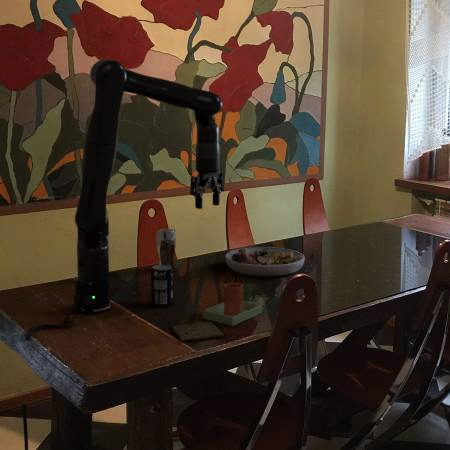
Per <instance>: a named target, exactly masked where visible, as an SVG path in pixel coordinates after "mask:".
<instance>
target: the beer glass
mask: <svg viewBox="0 0 450 450" xmlns="http://www.w3.org/2000/svg"><path fill="white" fill-rule="evenodd" d="M176 241H177V237H176V230H175V229H173V228H160V229H157V230H156V249H157V255H158V261H159V262H158V265H168V266H171V270H172V272H174V271H175V270H176V267H175V262H174V260H175V253H176V247H177V246H176V244H177V242H176Z"/></svg>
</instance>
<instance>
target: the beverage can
mask: <svg viewBox="0 0 450 450" xmlns="http://www.w3.org/2000/svg"><path fill="white" fill-rule="evenodd" d="M173 288H174V287H173V271H172V270H171V266H168V265H159V264H157V265H153V266H152V270H151V272H150V289H151V290H150V293H151V296H150V297H151V300H150V301H151V304H152V305H153V306H155V307H168V306H170V305H171V304H172V303H173V301H174V300H173V296H174V295H173V290H174V289H173Z"/></svg>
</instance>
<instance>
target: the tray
mask: <svg viewBox="0 0 450 450" xmlns="http://www.w3.org/2000/svg"><path fill="white" fill-rule="evenodd" d="M261 314H263V304H261V303H256V302H251V301H247V300H243V313H240V314H238V315H236V316H233V317H231V316H226V315H224V301H223V302H220V303H218V304H215V305H213V306H211V307H209V308H206V309H203V310H202V319H203V320H206V321H210V322H215V323H220V324H224V325H228V326H230V327H231V326H232V327H233V326H236V325H238V324H241V323H242V322H243V323H244V322H245V321H247V320H250V319H253V317H256V316H258V315H261Z"/></svg>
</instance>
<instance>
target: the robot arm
mask: <svg viewBox="0 0 450 450" xmlns="http://www.w3.org/2000/svg"><path fill="white" fill-rule="evenodd" d="M89 77H90V80H91V82H92V84H93V85H94V86H95V89H94V90H95V91H94V93H95V95H94V105H93V110H92V113H91V116H90V119H89V122H88V124H87V128H86V130H85V136H84V142H83V150H82V161H81V162H82V165H81V188H80V189H81V190H80V194H79V199H78V203H77V206H76V211H75V213H74V223H75V226H76V229H77V230H76V231H77V239H76V241H77V242H76V266H77V279H76V280H75V281H74V285H75V287H74V288H75V294H73V304H72V305H71V306H70V307H69V309H68V310H67V313H66V316H65V318H64V322H65V323H63V324H54V323H53V324H52V323H51V324H49V323H46V324H45V323H44V324H39V325H35V326H32V327H30V328H29V330H28V332H27V335H26V338H25V342H28V341H30V339H31V337H32V335H33V332H34V331H35V330H39V329H49V328H50V329H65V328H69V327H70V326H71V325H72V323H71V321H69V320H70V317H71V314H72V312H73V311H74V309H75V310H76V311H77V312H81V313H85V314H88V315H89V314H90V315H91V314H97V313H104V312H106V311H109V310H110V309H111V296H110V293H111V292H110V255H109V251H110V250H109V249H110V247H109V245H110V221H109V220H110V218H109V211H108V208H107V195H108V189H109V184H110V181H111V178H112V174H113V171H114V165H115V160H116V156H117V155H116V154H117V147H118V138H119V129H120V127H119V125H120V113H121V112H120V111H121V106H122V101H123V97H124V93H130V94H134V95H136V96H137V95H138V96H141V97H144V98H147V99H149V100H150V99H151V100H152V101H155V102H159V103H161V104H166V105H169V106H172V107H176V108H180V109H188V110H192V111H193V114H194V120H195V126H196V144H195V171H196V172H197V175H196V176H195V175H194V176H193V175H191V176H190V185H189V186H190V189H189V190H190V191H189V194H190V196H193V197H194V206H195V209H197V210H198V209H199V210H202V209H203V195H204V193H205V192H206V191H207V190H209V189H211V191H212V205H213V206H216V207H217V206H220V202H221V200H220V199H221V194H222V192H224V191H225V173H224V172H220V170H221V168H220V167H221V147H220V128H219V125H218V123H217V121H216V115H217V114H219V113H220V112H221V110H222V108H223V100H222V98H221V97H220V96H219V94H217V93H216V92H213V91H208V90H204V89H200V88H195V87H191V86H188V85H186V84H182V83H179V82H176V81H172V80H169V79H164V78H159V77H155V76H152V75H151V76H150V75H147V74H142V73H139V72H135V71H132V70H131V69H128V68H126V67H124V65H123V64H122V63H121V62H119V61H117V60H115V59H111V58H110V59H108V58H104V59H100V60H97V61H96V62H95V63H94V64H93V65H92V66H91V68H90V72H89ZM21 410H22V425H23V442H24V450H29V434H28V418H27V417H28V415H27V403H21Z"/></svg>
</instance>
